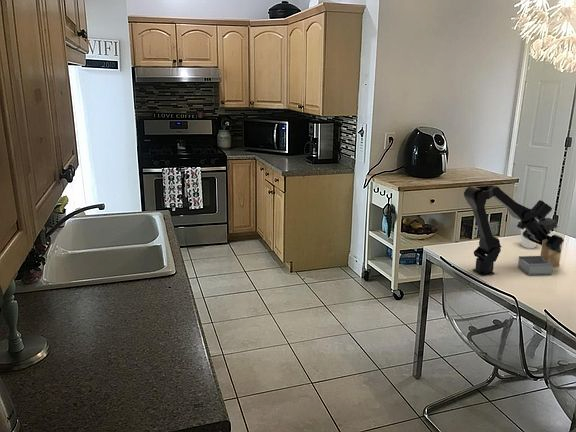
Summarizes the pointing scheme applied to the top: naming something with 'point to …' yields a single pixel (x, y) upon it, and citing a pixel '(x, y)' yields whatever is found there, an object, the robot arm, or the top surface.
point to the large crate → (535, 265)
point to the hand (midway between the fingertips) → (552, 248)
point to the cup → (527, 241)
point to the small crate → (550, 254)
